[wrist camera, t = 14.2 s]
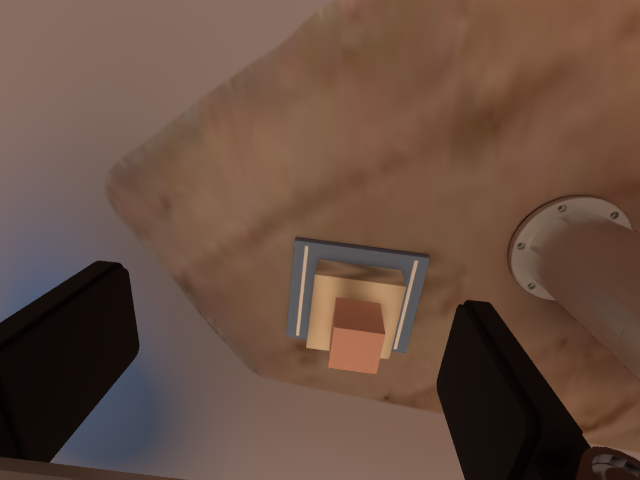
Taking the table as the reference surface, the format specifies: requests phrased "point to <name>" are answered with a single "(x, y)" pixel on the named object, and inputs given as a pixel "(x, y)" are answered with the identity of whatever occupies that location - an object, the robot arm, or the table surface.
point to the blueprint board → (315, 249)
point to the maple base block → (354, 298)
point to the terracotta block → (356, 336)
